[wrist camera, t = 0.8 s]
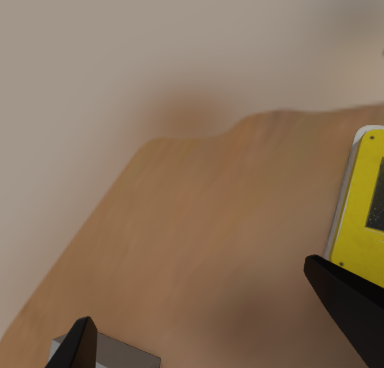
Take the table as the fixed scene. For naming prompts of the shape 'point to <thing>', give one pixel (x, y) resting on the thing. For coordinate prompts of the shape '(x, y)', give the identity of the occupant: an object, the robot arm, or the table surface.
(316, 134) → the table surface
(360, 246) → the emergency button
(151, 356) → the box
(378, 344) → the robot arm
